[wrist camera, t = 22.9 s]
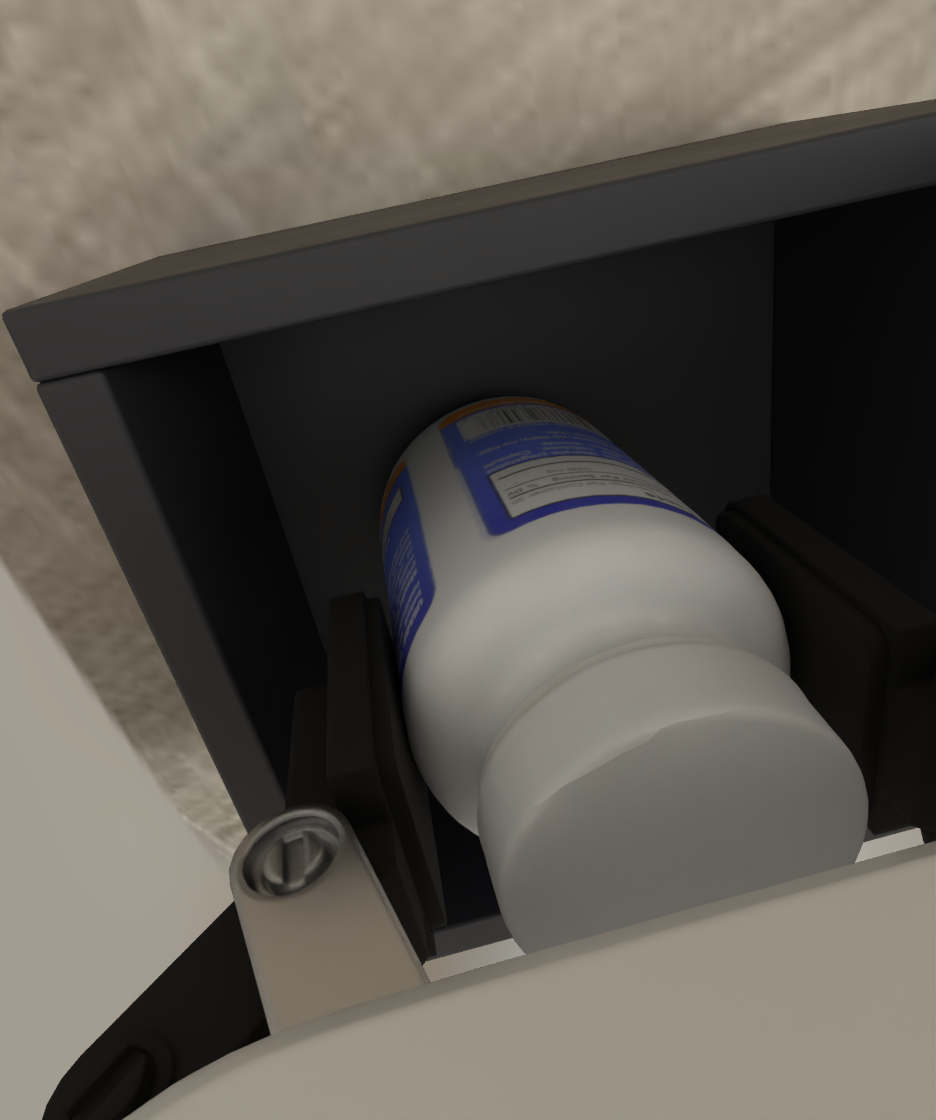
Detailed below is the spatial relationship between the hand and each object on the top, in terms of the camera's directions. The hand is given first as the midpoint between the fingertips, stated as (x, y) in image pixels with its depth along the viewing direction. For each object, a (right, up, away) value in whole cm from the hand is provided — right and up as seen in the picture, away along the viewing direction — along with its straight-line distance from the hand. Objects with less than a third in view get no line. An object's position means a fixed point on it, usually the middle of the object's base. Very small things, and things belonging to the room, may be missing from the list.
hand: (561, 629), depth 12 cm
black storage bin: (0, +3, +6) cm, 7 cm away
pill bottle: (-1, +2, +4) cm, 5 cm away
